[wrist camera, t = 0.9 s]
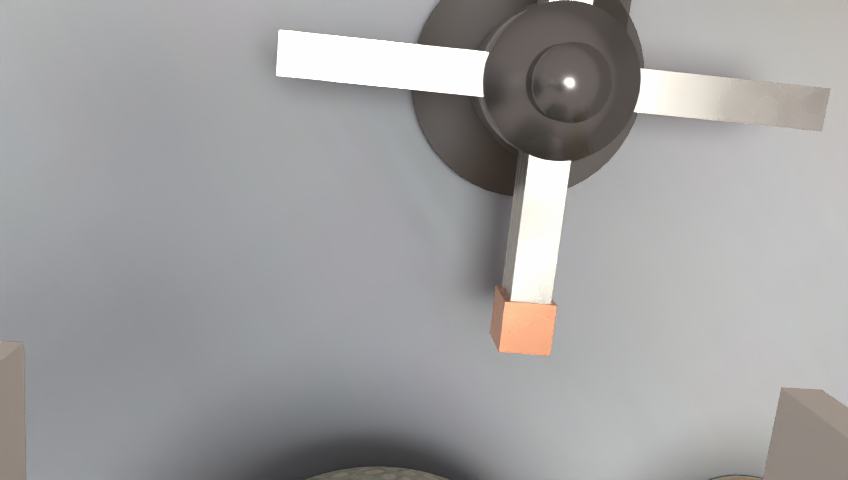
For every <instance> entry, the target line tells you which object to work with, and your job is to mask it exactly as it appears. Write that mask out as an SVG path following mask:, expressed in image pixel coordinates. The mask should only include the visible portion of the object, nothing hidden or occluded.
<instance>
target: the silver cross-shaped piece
mask: <svg viewBox="0 0 848 480" xmlns="http://www.w3.org/2000/svg"><path fill="white" fill-rule="evenodd" d="M276 76H284V77H294V78H304V79H314V80H324V81H333V82H343V83H353V84H363V85H373V86H382V87H392V88H402V89H412V90H422V91H431V92H441V93H451V94H461V95H470V98H471V102H472V105H473V108H474V110H475V112H476V114H477V116H478V118H479V119H480V121H481V122H482V124H483V125H484V126H485V127H486V128H487V130H488V131H489V132H490V134H491V135H492V136H493V137H494V138H495V139H496V140H497V141H498V142H499V143H500V144H501V145H502V146H504V147H505V148H506V149H508V150H510V151H511V152H513V153H514V154H516V155H518V162H517V170H516V178H515V186H514V194H513V202H512V209H511V217H510V225H509V233H508V241H507V249H506V257H505V265H504V273H503V281H502V286H496V289H495V297H494V305H493V313H492V321H491V329H490V334H491V336H492V338H493V340H494V343H495V345H496V347H497V349H498V351H499V352H507V353H520V354H534V355H548V356H550V353H551V346H552V339H553V332H554V325H555V317H556V310H557V305H556V304H555V302H554V301H553V300H552V292H553V285H554V278H555V271H556V263H557V256H558V249H559V242H560V235H561V228H562V221H563V213H564V206H565V199H566V192H567V185H568V178H569V171H570V164H571V162H574V161H577V160H580V159H583V158H585V157H587V156H589V155H592V154H594V153H596V152H597V151H599V150H601V149H603V148H604V147H605V146H607V145H608V144H610V143H611V142H612V141H613V140H614V139H615V138H616V137H617V136H618V135H619V134H620V133H621V131H622V130H623V129H624V128H625V126H626V125H627V123H628V122H629V120H630V118H631V116H632V114H633V112H638V113H647V114H657V115H667V116H677V117H687V118H696V119H706V120H716V121H726V122H736V123H746V124H755V125H765V126H775V127H785V128H795V129H804V130H814V131H822V128H823V123H824V118H825V113H826V108H827V103H828V98H829V93H830V89H829V88H820V87H811V86H801V85H792V84H783V83H773V82H764V81H755V80H745V79H736V78H726V77H717V76H708V75H698V74H689V73H680V72H670V71H661V70H652V69H642V68H640V63H639V58H638V54H637V51H636V48H635V46H634V44H633V42H632V39H631V38H630V36H629V35H628V33H627V31H626V30H625V29H624V28H623V26H622V25H621V24H620V23H619V22H618V21H617V20H616V19H615V18H614V17H613V16H611V15H610V14H608V13H607V12H606V11H604V10H602V9H600V8H598V7H596V6H594V5H593V0H538V2H536V3H533V4H531V5H528V6H525V7H523V8H521V9H519V10H517V11H516V12H514V13H512V14H511V15H509V16H508V17H507V18H505V19H504V20H503V21H501V22H500V23H499V24H497V25H496V26H495V27H493V28H492V29H491V30H490V31H489V32H488V33H487V34H486V36H485V37H484V38H483V39H482V41H481V42H480V44H479V46H478V47H477V49H476V51H474V50H465V49H455V48H446V47H437V46H427V45H418V44H409V43H399V42H390V41H381V40H371V39H362V38H353V37H343V36H334V35H325V34H315V33H306V32H296V31H287V30H279V36H278V53H277V69H276Z"/></svg>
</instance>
